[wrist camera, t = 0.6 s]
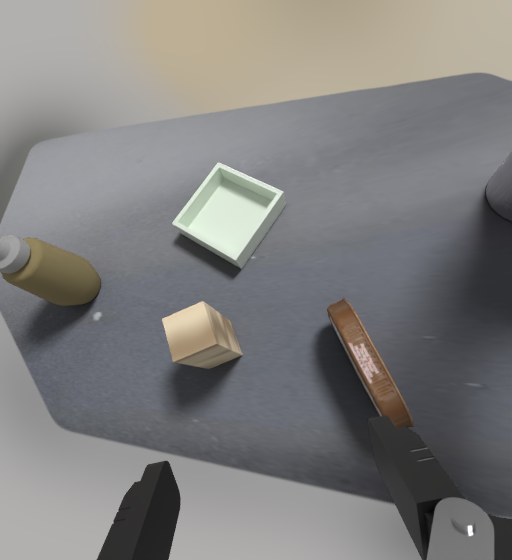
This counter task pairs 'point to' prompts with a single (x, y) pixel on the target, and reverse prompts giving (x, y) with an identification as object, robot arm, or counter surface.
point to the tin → (369, 364)
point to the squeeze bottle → (48, 271)
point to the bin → (230, 214)
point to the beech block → (201, 337)
